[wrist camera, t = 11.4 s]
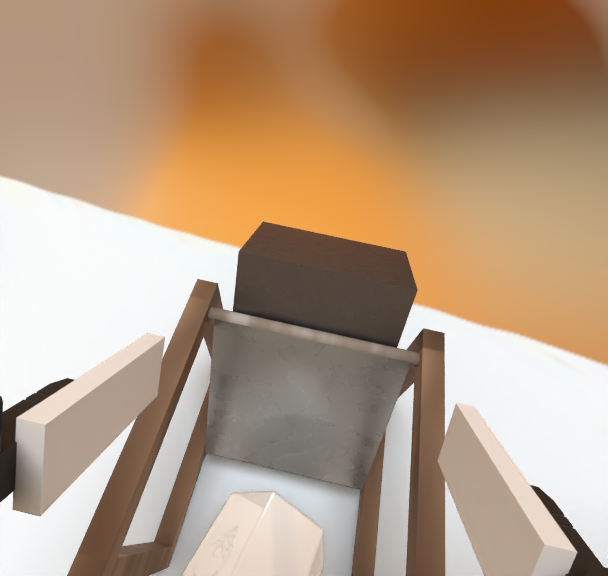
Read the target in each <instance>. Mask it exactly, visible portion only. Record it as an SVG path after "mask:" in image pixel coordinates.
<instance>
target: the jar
mask: <svg viewBox="0 0 608 576" xmlns="http://www.w3.org/2000/svg"><path fill="white" fill-rule="evenodd" d="M323 559H324V531H323V528H322V527H320V526H319V525H318V524H316V523H315V522H314V521H313V520H311V519H310V518H309V517H307V516H306V515H305V514H303V513H302V512H301V511H299V510H298V509H297V508H296V507H294V506H293V505H292V504H290V503H289V502H288V501H286V500H285V499H284V498H283V497H281V496H280V495H279V494H277V493H276V492H274V491H269V492H236V493H232V494H231V495H230V497H229V498H228V500H227V502H226V503H225V505H224V507H223V508H222V510H221V512H220V513H219V515H218V516H217V518H216V520H215V521H214V523H213V525H212V526H211V528H210V530H209V531H208V533H207V534H206V536H205V538H204V539H203V541H202V543H201V544H200V546H199V548H198V549H197V551H196V552H195V554H194V556H193V557H192V559H191V561H190V562H189V564H188V566H187V567H186V569H185V570H184V572H183V574H182V575H181V576H320V574H321V570H322V567H323Z"/></svg>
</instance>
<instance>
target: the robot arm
mask: <svg viewBox="0 0 608 576" xmlns="http://www.w3.org/2000/svg"><path fill="white" fill-rule="evenodd" d="M164 340H165V337H162V336H157V335H153V334H149V333H147V334H146V335H144V336H142V337H141V338H139V339H138V340H136V341H135V342H133V343H132V344H130V345H129V346H127V347H125V348H124V349H122V350H121V351H119V352H118V353H116V354H115V355H113V356H111V357H110V358H108V359H107V360H105V361H104V362H102V363H101V364H99V365H98V366H96V367H94V368H93V369H91V370H90V371H88V372H87V373H85V374H84V375H82V376H80V377H79V378H77V379H76V380H73V379H68V378H66V379H63V380H60V381H57V382H54V383H51V384H49V385H47V386H46V387H44V388H42V389H41V390H39V391H37V393H34V394H32V395H31V396H29V397H27V398H26V400H22V401H21V402H19V403H17V404H16V405H14V406H12V407H11V408H9V409H7V410H6V411H4V412H3V401H2V397H1V396H0V502H1V501H2V500H4V499H5V498H6V497H7V496H8V495H9V494H11V493H12V492H13V510H16V511H20V512H24V513H28V514H32V515H36V516H41V515H42V514H43V513H44V512H45V511H46V510H47V509H48V508H49V507H50V506H51V505H52V504H53V503H54V502H55V501H56V499H57V498H58V497H59V496H60V495H61V494H62V493H63V492H64V491H65V490H66V489H67V488H68V487H69V486H70V485H71V484H72V483H73V482H74V481H75V480H76V479H77V478H78V477H79V476H80V475H81V474H82V473H83V472H84V471H85V470H86V469H87V468H88V467H89V466H90V464H91V463H92V462H93V461H94V460H95V459H96V458H97V457H98V456H99V455H100V454H101V453H102V452H103V451H104V450H105V449H106V448H107V447H108V446H109V445H110V444H111V443H112V442H113V441H114V440H115V439H116V438H117V437H118V436H119V435H120V434H121V433H122V432H123V431H124V429H125V428H126V427H127V426H128V425H129V424H130V423H131V422H132V421H133V420H134V419H135V418H136V417H137V416H138V415H139V414H140V413H141V412H142V411H143V410H144V409H145V408H146V407H147V406H148V405H149V404H150V403H151V402H152V401H153V400H154V399H155V398H156V397H157V395H158V387H159V379H160V371H161V364H162V356H163V348H164ZM438 463H439V466H440V468H441V471H442V473H443V476H444V478H445V480H446V483H447V485H448V488H449V490H450V493H451V495H452V498H453V500H454V503H455V505H456V508H457V510H458V512H459V515H460V517H461V520H462V522H463V525H464V527H465V530H466V532H467V535H468V537H469V540H470V542H471V544H472V547H473V549H474V552H475V554H476V557H477V559H478V562H479V564H480V567H481V569H482V571H483V574H484V576H608V568H605V567H603V566H602V564H601V563H600V562H599V560H598V559H597V558H596V556H595V555H594V554H593V552H592V551H591V550H590V548H589V547H588V546H587V544H586V543H585V542H584V540H583V539H582V538H581V536H580V535H579V534H578V532H577V531H576V530H575V529H573V526H572V524H571V523H570V522H569V520H568V519H567V518H566V517H564V514H563V512H562V511H561V510H560V508H559V507H558V506H557V504H556V503H555V502H554V501H553V500H552V499H551V498H550V497H549V496H548V495H547V494H545V493H544V492H543V491H542V490H541V489H540V488H539V487H536V486H531V485H529V483H528V482H527V480H526V479H525V478H524V476H523V475H522V473H521V472H520V470H519V469H518V468H517V466H516V465H515V463H514V462H513V461H512V459H511V458H510V456H509V455H508V454H507V452H506V451H505V449H504V448H503V446H502V445H501V444H500V442H499V441H498V439H497V438H496V437H495V435H494V434H493V432H492V431H491V430H490V428H489V427H488V425H487V424H486V422H485V421H484V420H483V418H482V417H481V415H480V414H479V413H478V411H477V410H476V408H475V407H471V406H467V405H462V404H458V403H456V405H455V408H454V411H453V414H452V418H451V421H450V424H449V427H448V430H447V433H446V436H445V439H444V442H443V446H442V449H441V452H440V455H439V458H438Z"/></svg>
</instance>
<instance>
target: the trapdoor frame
mask: <svg viewBox="0 0 608 576" xmlns="http://www.w3.org/2000/svg"><path fill="white" fill-rule="evenodd" d="M215 319H217V320H222V321H226V322H231V323H235V324H240V325H244V326H249V327H253V328H258V329H262V330H267V331H271V332H276V333H280V334H285V335H289V336H294V337H298V338H303V339H307V340H312V341H316V342H321V343H325V344H330V345H334V346H338V347H343V348H347V349H352V350H356V351H361V352H365V353H370V354H374V355H379V356H383V357H388V358H392V359H397V360H401V361H406V362H410V363H411V365H410V367H409V370H408V373H407V375H406V378H405V380H404V383H403V386H402V388H401V391H400V393H399V396H398V398H399V397H400V396H401V395H402V394H403V393H404V392H405V391H406V390H407V389H408V388H409V387H410V386H411V385H412V384H413V383H414V401H413V424H412V448H411V471H410V495H409V518H408V541H407V565H406V576H445V478H444V476H443V473H442V471H441V468H440V466H439V463H438V458H439V455H440V452H441V449H442V446H443V442H444V439H445V363H444V333H442V332H437V331H433V330H428V329H423V330H422V331H421V332H420V333H419V335H418V336H417V337H416V338H415V340H414V341H413V342H412V343H411V345H410V346H409V347H408V349H407V350H404V349H399V348H395V347H390V346H386V345H381V344H377V343H372V342H368V341H363V340H359V339H354V338H350V337H345V336H341V335H336V334H332V333H327V332H323V331H318V330H314V329H309V328H305V327H300V326H296V325H291V324H287V323H282V322H278V321H273V320H269V319H264V318H259V317H255V316H250V315H246V314H241V313H237V312H232V311H228V310H223V307H222V302H221V297H220V292H219V287H218V283H213V282H209V281H204V280H200V279H197V282H196V284H195V286H194V289H193V291H192V293H191V295H190V298H189V300H188V302H187V304H186V307H185V309H184V311H183V314H182V316H181V318H180V320H179V323H178V325H177V327H176V329H175V332H174V334H173V336H172V339H171V341H170V343H169V345H168V348H167V350H166V352H165V354H164V357H163V359H162V364H161V371H160V379H159V387H158V395H157V397H156V398H155V399H154V400H153V401H152V402H151V403H150V404H149V405H148V406H147V407H146V408H145V409H144V410H143V411H142V412H141V413H140V414H139V415H138V416H137V418H136V420H135V423H134V425H133V427H132V430H131V432H130V434H129V436H128V439H127V441H126V443H125V445H124V448H123V450H122V452H121V455H120V457H119V459H118V461H117V464H116V466H115V468H114V470H113V473H112V475H111V477H110V480H109V482H108V484H107V486H106V489H105V491H104V493H103V495H102V498H101V500H100V502H99V505H98V507H97V509H96V511H95V514H94V516H93V518H92V520H91V523H90V525H89V527H88V530H87V532H86V534H85V536H84V539H83V541H82V543H81V546H80V548H79V550H78V552H77V555H76V557H75V559H74V561H73V564H72V566H71V568H70V571H69V573H68V575H67V576H149V575H151V574H154V573H156V572H158V571H161V570H163V569H165V568H168V567H169V564H170V561H171V558H172V555H173V552H174V549H175V546H176V543H177V540H178V537H179V534H180V530H181V527H182V524H183V521H184V518H185V515H186V512H187V509H188V506H189V503H190V500H191V497H192V493H193V490H194V487H195V484H196V481H197V478H198V475H199V472H200V469H201V466H202V463H203V460H204V456H205V453H206V452H205V444H206V430H207V417H208V403H209V389H210V384H209V387H208V390H207V393H206V396H205V398H204V401H203V404H202V407H201V410H200V413H199V415H198V418H197V421H196V424H195V427H194V430H193V433H192V435H191V438H190V441H189V444H188V447H187V450H186V452H185V455H184V458H183V461H182V464H181V467H180V469H179V472H178V475H177V478H176V481H175V484H174V486H173V489H172V492H171V495H170V498H169V501H168V504H167V506H166V509H165V512H164V515H163V518H162V521H161V523H160V526H159V529H158V532H157V535H156V538H155V540H154V542H150V543H143V544H136V545H129V546H122V545H123V542H124V540H125V537H126V535H127V532H128V529H129V527H130V524H131V522H132V519H133V517H134V514H135V511H136V509H137V506H138V504H139V501H140V499H141V496H142V493H143V491H144V488H145V486H146V483H147V481H148V478H149V475H150V473H151V470H152V468H153V465H154V463H155V460H156V457H157V455H158V452H159V450H160V447H161V445H162V442H163V439H164V437H165V434H166V432H167V429H168V427H169V424H170V421H171V419H172V416H173V414H174V411H175V409H176V406H177V403H178V401H179V398H180V396H181V393H182V391H183V388H184V385H185V383H186V380H187V378H188V375H189V373H190V370H191V367H192V365H193V362H194V360H195V357H196V355H197V352H198V349H199V347H200V344H201V342H202V339H203V337H204V339H205V342H206V345H207V347H208V350H209V353H210V356H211V359H212V347H213V333H214V320H215ZM398 398H397V399H398ZM385 431H386V429H385ZM384 443H385V432H384V434H383V437H382V440H381V442H380V445H379V447H378V450H377V453H376V455H375V458H374V460H373V463H372V465H371V468H370V471H369V473H368V476H367V478H366V481H365V483H364V486H363V489H362V490H361V492H360V501H359V510H358V520H357V529H356V538H355V548H354V557H353V567H352V576H374V568H375V555H376V543H377V530H378V518H379V506H380V493H381V481H382V468H383V456H384Z"/></svg>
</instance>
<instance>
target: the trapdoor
mask: <svg viewBox="0 0 608 576" xmlns="http://www.w3.org/2000/svg"><path fill="white" fill-rule="evenodd" d="M416 293H417V287H416V284H415V280H414V277H413V274H412V270H411V267H410V264H409V261H408V257H407V254H406V252H404V251H400V250H395V249H390V248H386V247H381V246H376V245H371V244H366V243H362V242H357V241H352V240H347V239H343V238H338V237H333V236H329V235H324V234H319V233H314V232H310V231H305V230H300V229H296V228H291V227H286V226H281V225H277V224H272V223H267V222H262V224H261V225H260V226H259V227H258V229H257V230H256V231H255V232H254V234H253V235H252V236H251V237H250V239H249V240H248V241H247V242H246V243H245V245H244V246H243V247H242V248H241V250H240V251H239V255H238V265H237V275H236V286H235V296H234V306H233V312H237V313H241V314H246V315H250V316H255V317H259V318H264V319H269V320H273V321H278V322H282V323H287V324H291V325H296V326H300V327H305V328H309V329H314V330H318V331H323V332H327V333H332V334H336V335H341V336H345V337H350V338H354V339H359V340H363V341H368V342H372V343H377V344H381V345H386V346H390V347H395V348H397V346H398V343H399V340H400V338H401V335H402V332H403V329H404V326H405V324H406V321H407V318H408V315H409V312H410V310H411V307H412V304H413V301H414V298H415V296H416ZM410 365H411V363H410V362H406V361H401V360H397V359H392V358H388V357H383V356H379V355H374V354H370V353H365V352H361V351H356V350H352V349H347V348H343V347H338V346H334V345H330V344H325V343H321V342H316V341H312V340H307V339H303V338H298V337H294V336H289V335H285V334H280V333H276V332H271V331H267V330H262V329H258V328H253V327H249V326H244V325H240V324H235V323H231V322H226V321H222V320H217V319H215V320H214V333H213V347H212V361H211V375H210V389H209V403H208V417H207V430H206V444H205V452H206V453H210V454H215V455H219V456H223V457H227V458H231V459H235V460H240V461H244V462H248V463H252V464H256V465H261V466H265V467H269V468H273V469H277V470H282V471H286V472H290V473H294V474H298V475H303V476H307V477H311V478H315V479H319V480H324V481H328V482H332V483H336V484H340V485H345V486H349V487H353V488H357V489H361V490H362V489H363V486H364V483H365V481H366V478H367V476H368V473H369V471H370V468H371V465H372V463H373V460H374V458H375V455H376V453H377V450H378V447H379V445H380V442H381V440H382V437H383V434H384V432H385V429H386V427H387V424H388V422H389V419H390V416H391V414H392V411H393V409H394V406H395V404H396V401H397V398H398V396H399V393H400V391H401V388H402V386H403V383H404V380H405V378H406V375H407V373H408V370H409V367H410Z"/></svg>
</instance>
